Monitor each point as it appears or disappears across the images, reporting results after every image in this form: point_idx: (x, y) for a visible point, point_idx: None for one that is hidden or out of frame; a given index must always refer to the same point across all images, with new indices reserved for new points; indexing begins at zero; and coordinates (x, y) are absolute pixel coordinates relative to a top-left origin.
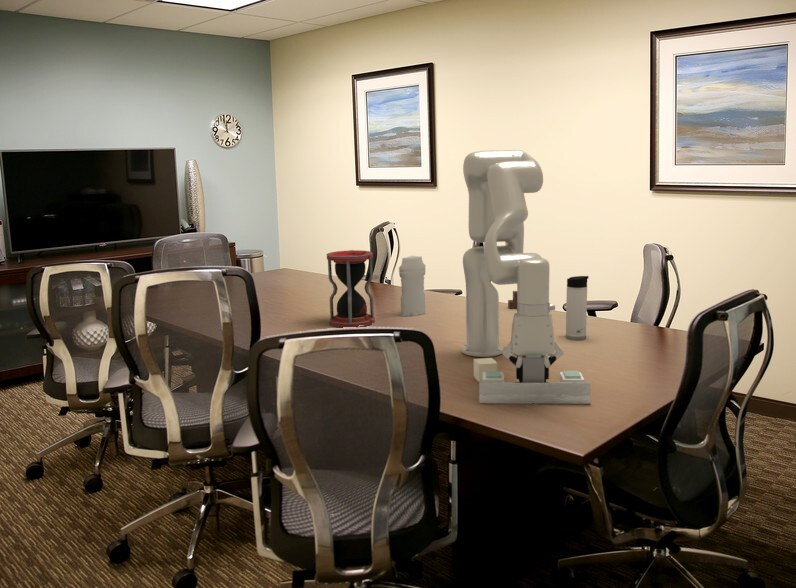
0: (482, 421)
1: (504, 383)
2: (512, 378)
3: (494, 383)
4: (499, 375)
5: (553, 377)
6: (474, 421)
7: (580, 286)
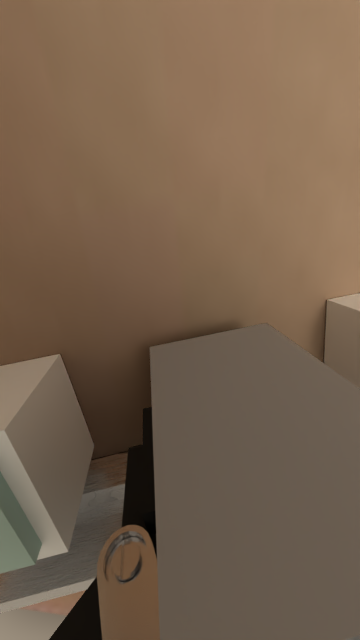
0: (74, 605)
1: (87, 584)
2: (53, 78)
3: (30, 600)
4: (19, 559)
5: (337, 12)
6: (51, 612)
7: None
